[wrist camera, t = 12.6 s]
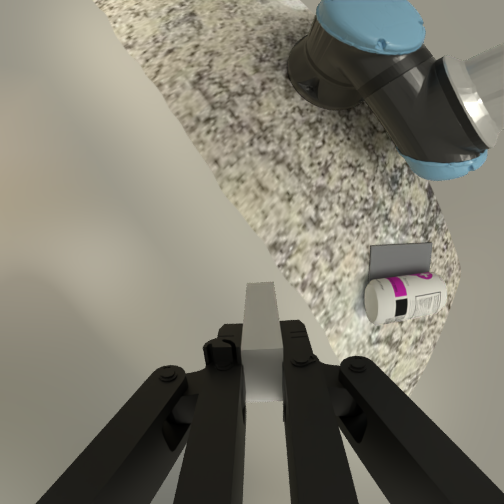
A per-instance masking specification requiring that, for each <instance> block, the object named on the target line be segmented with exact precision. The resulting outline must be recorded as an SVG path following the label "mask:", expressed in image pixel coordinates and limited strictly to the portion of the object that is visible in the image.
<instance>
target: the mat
mask: <svg viewBox="0 0 504 504" xmlns="http://www.w3.org/2000/svg"><path fill="white" fill-rule="evenodd" d="M431 252H432V243H411V244H392V245H372V246H370V264H369V278H368V284H369V283H370V281H371V280H374V279H382V278H390V277H398V276H405V275H412V274H419V273H426V272H429V270H430V261H431ZM365 310H366V309H365Z"/></svg>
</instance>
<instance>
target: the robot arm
mask: <svg viewBox="0 0 504 504" xmlns="http://www.w3.org/2000/svg"><path fill="white" fill-rule="evenodd" d="M422 25H423V20H422V18H421V16H420V14H419V13H418V12H417V10H416V9H415V8H414V7H413V6H412V5H411V4H410V3H409V2H408V1H407V0H322V1H321V2H320V4H319V5H318V6H317V9H316V15H315V18H314V21H313V23H312V26H311V29H310V32H309V34H308V35H306V36H305V37H303V38H301V39H300V40H299V41H298V42H297V43H296V44H295V45H294V47H293V48H292V50H291V52H290V55H289V59H288V65H287V68H288V75H289V78H290V81H291V83H292V85H293V86H294V88H295V89H296V90H297V92H298V93H299V94H300V95H301V96H302V97H303V98H305V99H306V100H307V101H309V102H310V103H312V104H314V105H316V106H318V107H321V108H324V109H328V110H345V109H349V108H352V107H354V106H356V105H358V104H359V103H361V102H362V101H363V100H365V101H366V103H367V104H368V105H369V107H370V108H371V110H372V111H373V112H374V114H375V115H376V116H377V118H378V119H379V121H380V122H381V124H382V125H383V126H384V128H385V129H386V131H387V132H388V134H389V135H390V137H391V138H392V140H393V142H394V143H395V145H396V149H397V151H398V152H399V154H400V155H401V156H402V157H404V159H405V160H406V162H407V163H408V165H409V167H410V168H411V170H412V171H413V172H414V173H415V174H417V175H418V176H420V177H421V178H424V179H427V180H434V181H442V180H450V179H455V178H459V177H462V176H464V175H467V174H468V171H475V170H476V169H478V168H479V167H480V166H481V165H482V164H483V163H484V162H485V160H486V158H487V149H489V148H492V147H494V146H495V144H496V142H497V139H498V135H499V132H500V131H501V130H503V129H504V43H502V44H500V45H497V46H495V47H493V48H491V49H489V50H487V51H484V52H482V53H480V54H478V55H476V56H474V57H472V58H470V59H468V60H460V59H458V58H455V57H452V56H450V55H446V56H444V57H442V58H440V59H438V60H435V58H434V57H433V56H432V54H431V53H430V52H429V50H428V49H427V48H426V46H425V45H424V44H423V43H424V38H425V32H426V31H425V28H424V27H423V26H422ZM431 57H432V58H431ZM372 93H373V94H372ZM369 95H370V96H369ZM203 351H204V357H205V362H206V367H205V368H204V369H203V370H200V371H197V372H192V373H187V374H185V371H184V370H183V369H182V368H181V367H178V366H174V365H168V366H163V367H160V368H158V369H156V370H155V371H154V372H153V373H152V374H151V375H150V376H149V377H148V379H147V380H146V381H145V382H144V383H143V384H142V385H141V386H140V388H139V389H138V390H137V391H136V392H135V393H134V394H133V396H132V397H131V398H130V399H129V400H128V401H127V402H126V403H125V405H124V406H123V407H122V408H121V409H120V410H119V411H118V413H117V414H116V415H115V416H114V417H113V418H112V419H111V420H110V421H109V423H108V424H107V425H106V426H105V427H104V428H103V429H102V430H101V432H100V433H99V434H98V435H97V436H96V437H95V438H94V439H93V440H92V442H91V443H90V444H89V445H88V446H87V448H85V449H84V451H83V452H82V453H81V454H80V455H79V456H78V457H77V458H76V459H75V461H74V462H73V463H72V464H71V465H70V466H69V467H68V468H67V470H66V471H65V472H64V473H63V474H62V475H61V476H60V477H59V479H58V480H57V481H56V482H55V483H54V484H53V485H52V486H51V487H50V488H49V490H48V491H47V492H46V493H45V494H44V495H43V496H42V497H41V498H40V500H39V501H38V502H37V503H36V504H150V503H151V501H152V499H153V498H154V496H155V495H156V493H157V491H158V490H159V488H160V487H161V485H162V483H163V482H164V480H165V479H166V477H167V475H168V474H169V472H170V470H171V469H172V467H173V465H174V463H175V462H176V460H177V459H178V457H179V455H180V453H181V452H182V450H183V448H184V447H185V445H186V443H187V446H186V449H185V454H184V458H183V463H182V467H181V471H180V475H179V480H178V484H177V489H176V494H175V498H174V502H173V504H242V501H243V479H244V456H245V432H246V405H245V403H246V402H270V401H283V422H284V424H285V435H286V447H287V457H288V458H287V459H288V471H289V484H290V496H291V504H359V503H358V499H357V495H356V491H355V487H354V483H353V479H352V475H351V471H350V468H349V464H348V460H347V456H346V452H345V449H344V445H343V441H342V437H341V434H340V430H339V428H340V429H341V431H342V433H343V434H344V435H345V437H346V439H347V440H348V442H349V443H350V445H351V446H352V448H353V449H354V451H355V452H356V454H357V455H358V457H359V458H360V460H361V461H362V463H363V464H364V466H365V467H366V469H367V470H368V472H369V473H370V475H371V476H372V478H373V479H374V480H375V482H376V484H377V485H378V486H379V488H380V489H381V491H382V492H383V494H384V495H385V497H386V498H387V500H388V501H389V503H390V504H504V493H503V492H502V491H501V490H500V489H499V488H498V487H497V486H496V485H495V484H494V483H493V482H492V481H491V480H490V479H489V478H488V477H487V476H486V475H485V474H484V473H483V472H482V471H481V470H480V469H479V468H478V467H477V466H476V464H475V463H474V462H473V461H471V459H469V457H468V456H467V455H466V454H465V453H464V452H463V451H462V450H461V449H460V448H459V447H458V446H457V445H456V444H455V443H454V442H453V441H452V440H451V439H450V438H449V437H448V436H447V435H446V434H445V433H444V432H443V431H442V430H441V429H440V428H439V427H438V426H437V425H436V424H435V423H434V422H433V421H432V420H431V419H430V418H429V417H428V416H427V415H426V414H425V413H424V412H423V411H422V410H421V409H420V408H419V407H418V406H417V405H416V404H415V403H414V402H413V401H412V400H411V399H410V398H409V397H408V396H407V395H406V394H405V393H404V392H403V391H402V390H401V389H400V388H399V387H398V386H397V385H396V384H395V383H394V382H393V381H392V380H391V379H390V378H389V377H388V376H387V375H386V374H385V373H384V372H383V371H382V370H381V369H380V368H379V367H378V366H377V365H376V364H375V363H374V362H373V361H371V360H370V359H368V358H366V357H362V356H352V357H348V358H346V359H344V360H343V361H342V362H341V364H340V366H337V365H328V364H324V363H322V362H320V361H319V359H318V358H317V356H316V355H314V354H313V351H312V348H311V345H310V341H309V338H308V334H307V332H306V328H305V325H304V324H303V323H302V322H301V321H300V320H287V321H279V315H278V308H277V301H276V294H275V288H274V282H261V283H247V288H246V299H245V310H244V320H243V324H224V325H223V326H222V327H221V328H220V329H219V332H218V337H217V338H215V339H212V340H210V341H208V342H207V343H205V345H204V346H203ZM338 426H339V427H338Z"/></svg>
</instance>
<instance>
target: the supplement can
mask: <svg viewBox="0 0 504 504" xmlns="http://www.w3.org/2000/svg"><path fill="white" fill-rule="evenodd" d="M364 300H365V309H366V314H367V317H368V319H369V321H370V322H371V323H373V324H374V325H383V324H389V323H394V322H399V321H404V320H409V319H414V318H419V317H424V316H428V315H433V314H436V313H437V312H438V311H439V310H440V309H442V308H443V307H444V306H445V303H446V300H447V288H446V284H445V282H444V280H443V278H442V277H441V276H440V275H437V274H435V273H432V272H426V273H419V274H412V275H405V276H398V277H390V278H382V279H374V280H371V281H370V283H369V284H368V285H367V286H366V289H365V297H364Z"/></svg>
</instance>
